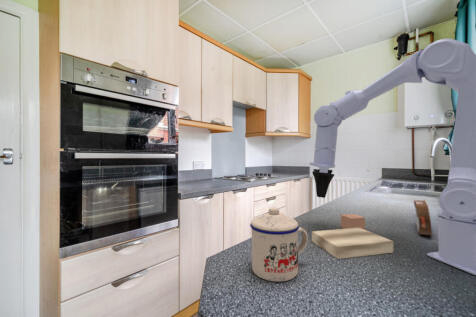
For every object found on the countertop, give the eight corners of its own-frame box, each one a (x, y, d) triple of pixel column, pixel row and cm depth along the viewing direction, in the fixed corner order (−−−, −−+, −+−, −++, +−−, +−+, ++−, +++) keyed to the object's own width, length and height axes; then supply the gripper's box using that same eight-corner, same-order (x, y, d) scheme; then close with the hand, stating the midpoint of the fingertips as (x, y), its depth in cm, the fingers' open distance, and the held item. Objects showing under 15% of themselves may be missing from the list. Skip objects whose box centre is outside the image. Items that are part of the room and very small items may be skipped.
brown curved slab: (432, 240, 54) (432, 207, 54) (416, 237, 56) (416, 205, 56) (426, 225, 66) (426, 198, 66) (413, 223, 68) (413, 197, 68)
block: (365, 231, 62) (364, 217, 62) (351, 232, 61) (351, 218, 61) (353, 226, 66) (353, 213, 66) (341, 227, 65) (340, 214, 65)
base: (393, 252, 47) (393, 241, 47) (337, 258, 44) (337, 246, 44) (359, 236, 57) (359, 227, 57) (311, 241, 54) (311, 231, 54)
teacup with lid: (264, 288, 35) (263, 216, 35) (243, 263, 43) (243, 205, 43) (323, 274, 39) (322, 209, 39) (293, 253, 47) (293, 201, 47)
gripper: (311, 148, 71) (308, 188, 72) (309, 147, 57) (305, 197, 58) (334, 149, 68) (330, 191, 69) (338, 149, 55) (333, 201, 56)
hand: (320, 194), depth 63 cm, fingers open, 7 cm apart
